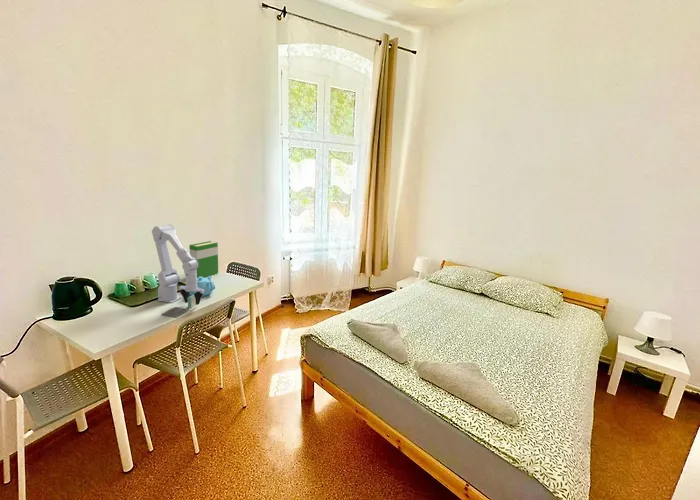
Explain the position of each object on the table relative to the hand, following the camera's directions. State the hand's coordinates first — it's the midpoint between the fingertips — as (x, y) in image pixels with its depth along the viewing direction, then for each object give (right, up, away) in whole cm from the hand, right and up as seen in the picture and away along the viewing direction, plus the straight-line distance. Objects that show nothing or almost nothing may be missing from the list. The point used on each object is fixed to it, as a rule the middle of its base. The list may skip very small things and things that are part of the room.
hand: (192, 303), depth 178 cm
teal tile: (0, -2, 0) cm, 2 cm away
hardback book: (-16, +11, +50) cm, 54 cm away
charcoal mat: (-5, -3, -9) cm, 10 cm away
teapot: (-4, +3, +19) cm, 20 cm away
